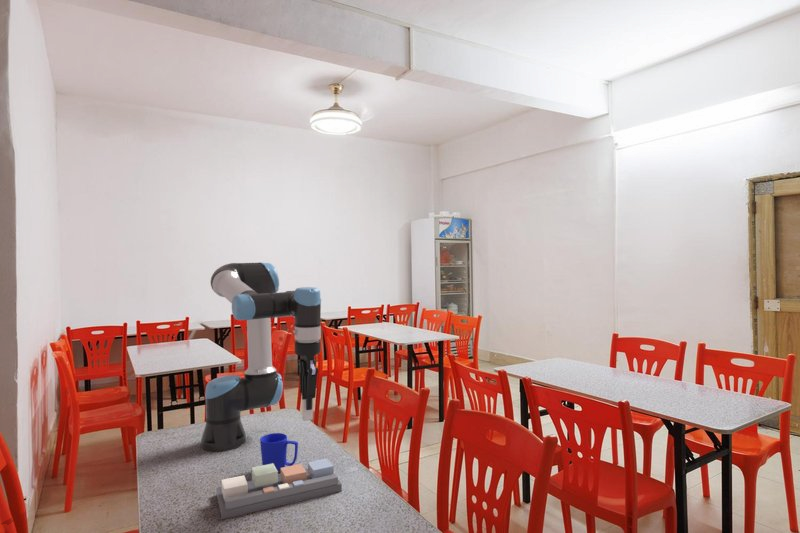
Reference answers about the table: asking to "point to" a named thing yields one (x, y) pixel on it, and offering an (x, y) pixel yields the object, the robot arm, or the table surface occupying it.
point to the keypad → (276, 494)
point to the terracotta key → (293, 474)
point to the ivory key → (234, 486)
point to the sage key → (264, 475)
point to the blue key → (320, 468)
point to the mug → (276, 450)
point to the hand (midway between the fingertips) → (307, 419)
